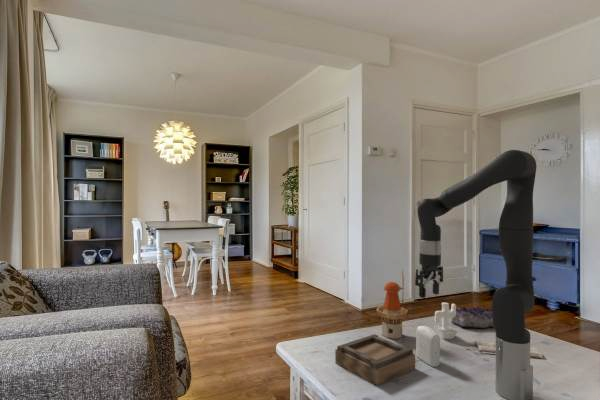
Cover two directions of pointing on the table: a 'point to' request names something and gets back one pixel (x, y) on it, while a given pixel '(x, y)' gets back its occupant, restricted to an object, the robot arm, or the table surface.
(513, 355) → the robot arm
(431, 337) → the photo printer
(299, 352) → the table surface
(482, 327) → the geode
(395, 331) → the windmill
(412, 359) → the walnut plinth
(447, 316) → the figurine
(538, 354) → the newspaper
